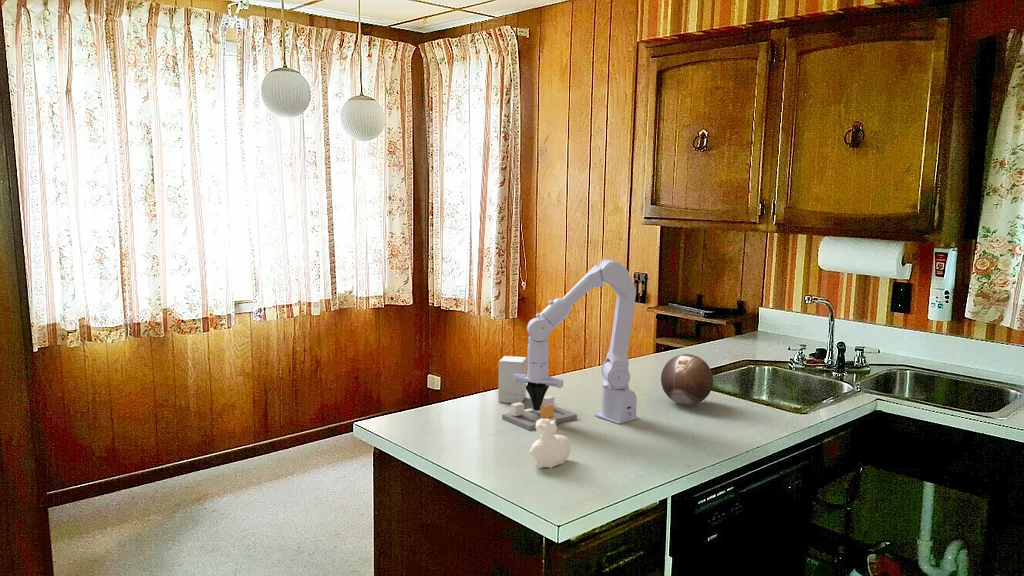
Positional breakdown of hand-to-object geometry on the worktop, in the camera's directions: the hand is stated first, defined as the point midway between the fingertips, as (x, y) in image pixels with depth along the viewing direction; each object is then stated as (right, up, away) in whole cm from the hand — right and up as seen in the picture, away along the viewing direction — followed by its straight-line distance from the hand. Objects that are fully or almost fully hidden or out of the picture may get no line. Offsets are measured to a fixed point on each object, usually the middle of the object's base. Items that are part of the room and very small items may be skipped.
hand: (537, 409), depth 202 cm
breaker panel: (+1, -2, -1) cm, 3 cm away
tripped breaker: (+3, -1, -3) cm, 4 cm away
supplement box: (-7, 0, +17) cm, 19 cm away
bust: (+2, -7, -32) cm, 33 cm away
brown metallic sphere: (+45, -1, +14) cm, 47 cm away
